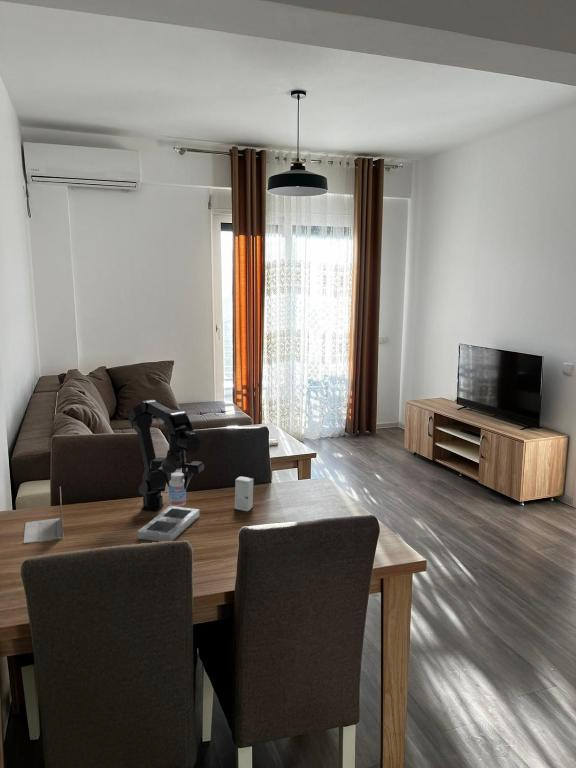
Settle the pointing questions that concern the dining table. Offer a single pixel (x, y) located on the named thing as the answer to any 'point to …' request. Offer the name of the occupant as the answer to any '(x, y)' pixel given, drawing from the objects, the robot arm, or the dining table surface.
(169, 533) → the white compartment tray
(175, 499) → the pill bottle
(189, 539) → the dining table surface
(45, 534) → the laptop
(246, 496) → the skincare box
